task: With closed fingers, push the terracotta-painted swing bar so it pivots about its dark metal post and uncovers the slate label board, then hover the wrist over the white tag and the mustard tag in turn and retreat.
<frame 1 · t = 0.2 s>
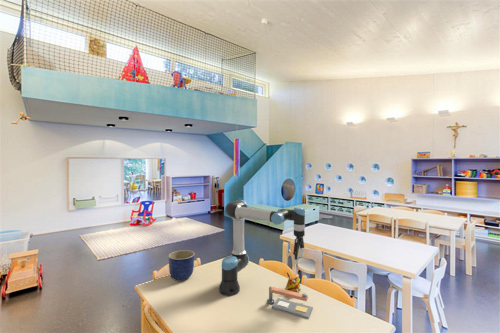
hand: (298, 260, 172), 27 cm above the table, fingers open, 13 cm apart
planter: (181, 277, 202), on the table
pivot pedestal: (270, 302, 167), on the table
swing arm: (287, 297, 162), point 6 cm above the table, hinge at 0.0°
label board: (292, 308, 161), on the table
toy: (293, 291, 183), on the table
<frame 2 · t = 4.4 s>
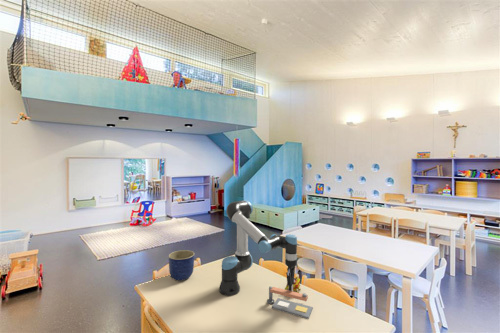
hand: (290, 294, 164), 7 cm above the table, fingers closed
swing arm: (287, 297, 162), point 6 cm above the table, hinge at 0.0°, touching gripper
everything else where it was.
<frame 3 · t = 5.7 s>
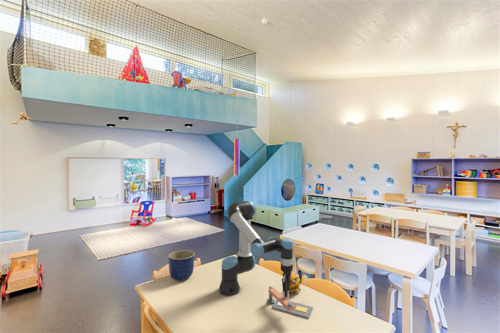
hand: (286, 300, 156), 7 cm above the table, fingers closed
swing arm: (279, 302, 157), point 6 cm above the table, hinge at 39.0°, touching gripper
everything else where it was.
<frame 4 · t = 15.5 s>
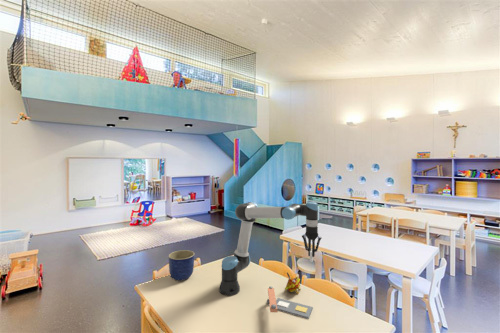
hand: (311, 261, 164), 29 cm above the table, fingers closed
swing arm: (272, 302, 155), point 6 cm above the table, hinge at 64.2°
everything else where it was.
at the end: swing arm at +64° (first picture: +0°) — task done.
